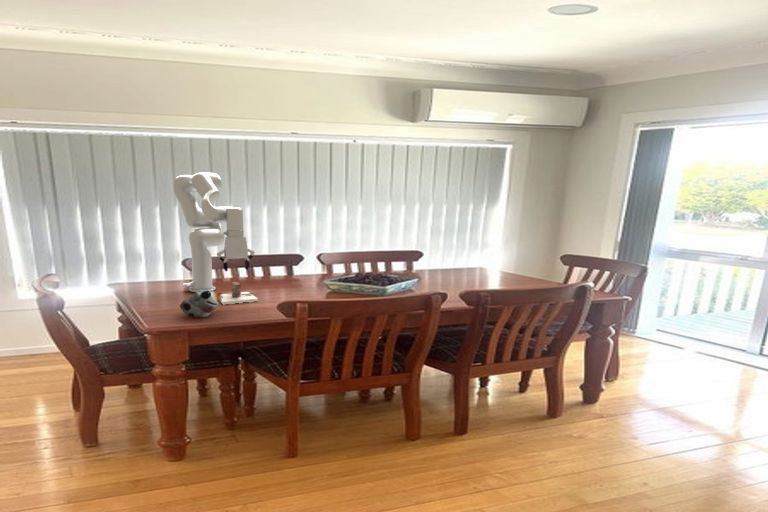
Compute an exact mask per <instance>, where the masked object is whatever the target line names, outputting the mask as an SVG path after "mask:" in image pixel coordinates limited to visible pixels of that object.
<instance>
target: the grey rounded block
mask: <svg viewBox="0 0 768 512" xmlns="http://www.w3.org/2000/svg"><path fill="white" fill-rule="evenodd" d="M221 294H223V293H222V292H216V291H215V290H214V291H213V290H210V289H206V290H205V289H203V290H200V291H198V292H194V294H193V295H191V297H188V298H185V299H183V301H181V303H180V305H179V308H180V310H181V311H182V312H183V313H184V314H185V315H187V316H188V317H192V318H194V319H202V317H203V318H207V317H209V315H211V314H212V312H213V311H214V310H215V309H216V308H217V307H218V306H219V304H221V303H220V302H221V301H222V298H223V296H222V295H221Z"/></svg>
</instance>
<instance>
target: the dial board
mask: <svg viewBox="0 0 768 512" xmlns="http://www.w3.org/2000/svg"><path fill="white" fill-rule="evenodd" d="M232 293H233V292H229V293H222V294H221V295H222V296H223V298H222V301H221V303H222V304H223V305H222V304H221V303H220V304H221V305H222V306H226V305H225V304H229V305H235V303H239V304H244V303H243V302H249V303H255V302H254V301H258V297H256V296H255V295H254V294H250V295H241V296H239V297H232ZM249 293H250V292H249V291H244V292H243V291H241V294H249Z"/></svg>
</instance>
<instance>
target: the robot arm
mask: <svg viewBox="0 0 768 512" xmlns="http://www.w3.org/2000/svg"><path fill="white" fill-rule="evenodd" d="M222 184H223V181H222V178H221V177H220V175H219V174H217V173H216V172H197V173H194V174H192V175H191V174H183V175H178V176H176V177H175V178H174V179H173V192H174V195H175V197H176V199H177V200H178V202H179V204H180V206H181V209H182V213H183V215H184V218H185V221H186V224H187V226H188V227H189V228H191V229H193V230H191V231H190V233H189V234H188V240H189V245H190V251H191V275H192V276H191V277H192V278H191V279H192V280H191V281H190V282H188V283H187V282H185V283H182V288H189V291H190V292H193V293H196V292H198V291H200V290H203V289H205V290H206V289H210V290H213V291H214V292H215V290H216V286H214V285H213V268H212V267H213V263H212V262H213V261H212V260H213V259H212V257H213V256H212V253H211V252H210V250H209V249H208V248H210V247H218V246H222V245H223V244H224V245H223V247H224V249H222V250H220V251H219V252H217V253H216V256H217V257H218V259H219V260H220V261H221V262H222V267H223V270H224V272H228V269H229V266H228V262H227V261H229V259H231V260H232V259H244V269H245V270H247V271H248V270H249V268H250V261H251V259H253V256H254V255H255V251H254V250H252V249H249V248H248V242H247V237H246V236H245V235H244V231H245V230H244V211H243V208H242V207H235V206H213V205H212V204H214V203H215V202H217V200H218V199H219V198H220V194H221V192H220V190H219V189H220V188H221V187H222V186H223V185H222ZM192 193H198V195H200V197H201V198H202V199H201V203H199V201H198V198H196V196H195V195H193V194H192ZM222 223H226V229H225V231H224V230H223V228H222ZM249 253H250V254H249ZM223 254H224V257H222V255H223Z"/></svg>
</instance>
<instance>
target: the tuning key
mask: <svg viewBox="0 0 768 512" xmlns="http://www.w3.org/2000/svg"><path fill="white" fill-rule="evenodd" d="M230 285H231V293H232V297H239V296H241V295H250V294H252V295H254V292H249V294H241V292H242V289H241V288H242V287H241V283H239V282H238V281H231V284H230Z"/></svg>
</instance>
